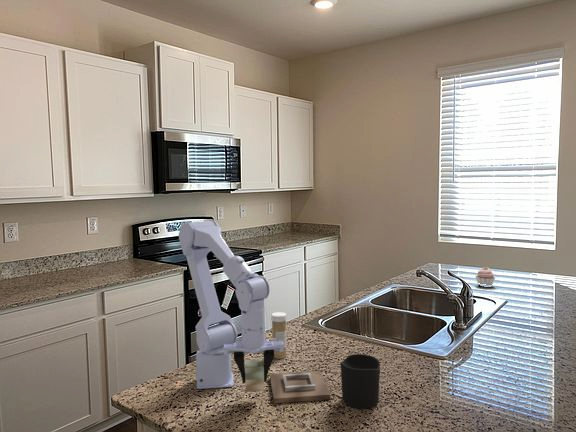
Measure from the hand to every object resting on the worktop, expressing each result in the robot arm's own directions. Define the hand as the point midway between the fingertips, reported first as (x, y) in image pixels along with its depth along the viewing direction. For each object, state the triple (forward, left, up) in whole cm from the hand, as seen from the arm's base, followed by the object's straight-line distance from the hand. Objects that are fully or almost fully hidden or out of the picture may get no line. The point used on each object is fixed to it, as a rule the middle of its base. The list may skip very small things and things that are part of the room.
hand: (254, 380), depth 111 cm
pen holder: (+26, -4, -5) cm, 26 cm away
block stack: (0, 0, -2) cm, 2 cm away
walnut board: (+12, +5, -5) cm, 14 cm away
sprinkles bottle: (+9, +27, -5) cm, 29 cm away
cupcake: (+118, +100, -5) cm, 154 cm away
